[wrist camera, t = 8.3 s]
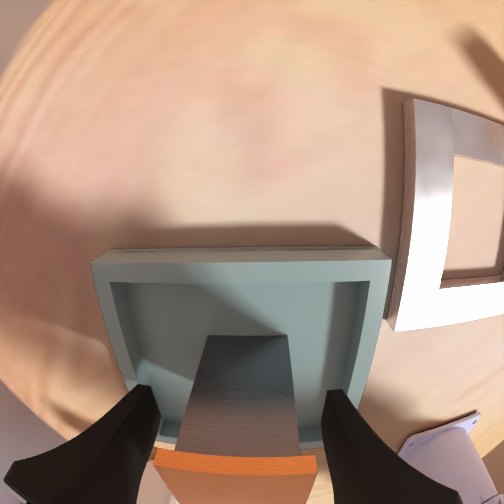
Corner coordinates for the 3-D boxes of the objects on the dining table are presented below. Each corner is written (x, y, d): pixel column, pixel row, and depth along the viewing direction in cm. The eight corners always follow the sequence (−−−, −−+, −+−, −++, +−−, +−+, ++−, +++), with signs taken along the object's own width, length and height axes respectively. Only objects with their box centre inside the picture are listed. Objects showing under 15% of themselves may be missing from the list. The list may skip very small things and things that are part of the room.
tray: (339, 423, 15) (344, 444, 13) (158, 420, 15) (150, 440, 14) (375, 245, 11) (391, 259, 10) (110, 249, 12) (90, 262, 10)
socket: (510, 301, 12) (519, 308, 11) (386, 320, 12) (394, 331, 11) (531, 142, 9) (542, 143, 8) (402, 102, 9) (413, 98, 8)
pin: (291, 394, 13) (300, 515, 7) (209, 393, 13) (184, 511, 7) (296, 328, 12) (317, 472, 5) (199, 328, 12) (152, 464, 5)
